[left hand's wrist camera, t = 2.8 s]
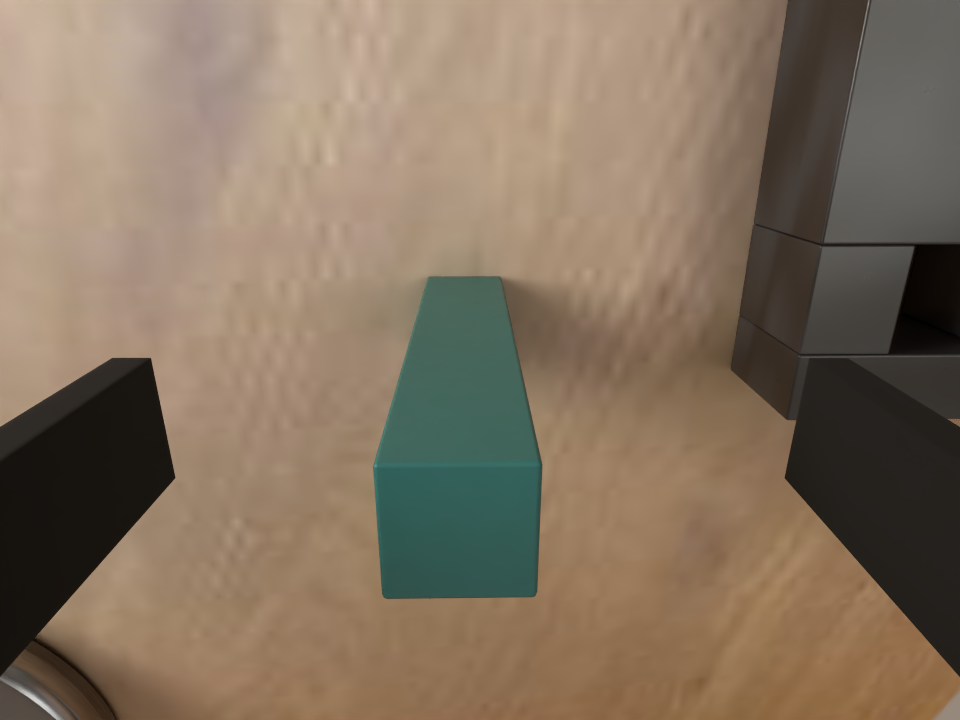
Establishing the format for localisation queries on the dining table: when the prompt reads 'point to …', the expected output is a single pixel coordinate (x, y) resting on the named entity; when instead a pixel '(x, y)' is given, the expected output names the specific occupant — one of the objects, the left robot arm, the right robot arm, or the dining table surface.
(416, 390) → the peg
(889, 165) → the peg board
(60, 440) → the left robot arm
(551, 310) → the dining table surface
